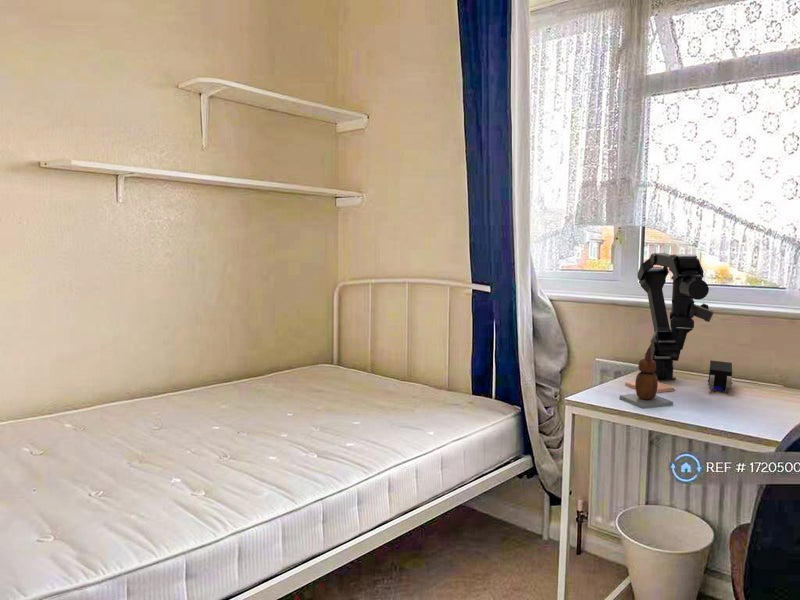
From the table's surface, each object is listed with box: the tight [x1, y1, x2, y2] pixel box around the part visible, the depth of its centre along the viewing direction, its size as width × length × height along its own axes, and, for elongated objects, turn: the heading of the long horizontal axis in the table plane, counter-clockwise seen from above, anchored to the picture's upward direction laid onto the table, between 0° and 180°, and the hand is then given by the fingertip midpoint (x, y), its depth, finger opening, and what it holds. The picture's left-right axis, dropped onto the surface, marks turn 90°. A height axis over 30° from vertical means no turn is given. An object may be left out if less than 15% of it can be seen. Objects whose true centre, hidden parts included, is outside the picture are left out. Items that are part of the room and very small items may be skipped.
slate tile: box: [619, 393, 674, 409], centre depth 171 cm, size 10×10×1 cm
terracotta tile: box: [624, 380, 676, 394], centre depth 186 cm, size 10×10×1 cm
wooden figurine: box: [635, 347, 659, 400], centre depth 170 cm, size 7×6×15 cm
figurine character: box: [707, 359, 733, 394], centre depth 184 cm, size 7×8×15 cm
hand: (679, 346), depth 184 cm, fingers open, 9 cm apart
